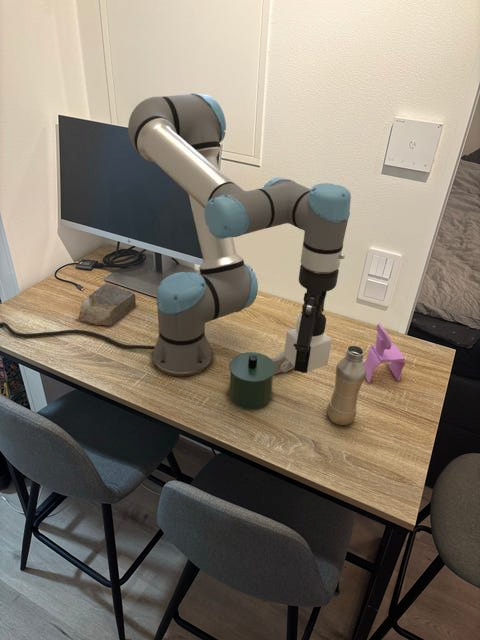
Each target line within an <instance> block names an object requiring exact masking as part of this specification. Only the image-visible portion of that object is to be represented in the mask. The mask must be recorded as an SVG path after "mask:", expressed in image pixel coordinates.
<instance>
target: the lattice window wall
mask: <svg viewBox="0 0 480 640" xmlns="http://www.w3.org/2000/svg"><path fill="white" fill-rule="evenodd" d="M269 358H270V359H271V360H272V361H273V362H274V364H275V373H274V375H276V374H279V373H280V374H281V373H287V372H289V371H291V370H294V366H293V365H292V364H291V363H290V362H289V361H288V360H287V359H286V358H285V357H284V350H283V351H282V352H281V353H279V354H278V355H275V356H272V357H269Z"/></svg>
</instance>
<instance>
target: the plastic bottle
mask: <svg viewBox="0 0 480 640" xmlns="http://www.w3.org/2000/svg"><path fill="white" fill-rule="evenodd" d="M364 355H365V350H364V349H363V348H362V347H361V346H359V345H354V344H352V345H348V346H347V347H346V350H345V354H344V357H343V358H341V359H340V360H339V361H338V362H337V364H336V365H335V366H336V367H335V381H334V387H333V392H332V394H331V397H330V399H329V401H328V404H327V406H326V415H327V417H328V418H329V420H330V421H331V422H332V423H333V424H336V425H338V426H339V425H340V426H347V425H349V424H352V422H353V421H354V419H355V418H356V416H357V403H358V397H359V393H360V390H361V387H362V385H363V383H364V382H365V379H366V377H365V376H366V367H365V365H364V363H365V362H363V361H364Z"/></svg>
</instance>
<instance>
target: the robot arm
mask: <svg viewBox="0 0 480 640" xmlns="http://www.w3.org/2000/svg"><path fill="white" fill-rule="evenodd" d="M226 130H227V122H226V118H225V114H224V111H223V109H222V107H221V105H220V104H219V101H217V100H216V99H215V98H213V97H212V96H211V95H209V94H204V93H203V94H201V93H200V94H199V93H190V94H176V95H163V96H160V95H159V96H151V97H148V98H146V99H144V100H142V101H141V102H139V103H137V105H136V106H135V108H133V110H132V112H131V114H130V117H129V119H128V124H127V131H128V137H129V141H130V143H131V145H132V147H133V148H134V150H135V151H136V152H137V153H138V154H139V155H140V156H141V157H142V158H143V159H145V160H146V161H148V162H152V163H155V164H156V165H157V166H158V167H160V168H161V170H163V171H164V173H166V174H167V175H168V176H169V177H170V178H171V179H172V180H173V181H174V182H175V183H176V184H178V185H179V186H180V188H182V190H184V191H185V192H186V193H187V194H188V197H189V202H190V206H191V211H192V216H193V221H194V224H195V228H196V229H195V230H196V234H197V238H198V243H199V247H200V250H201V256H202V262H201V264H200V265H199V267H198V269H199V273H200V274H199V273H198V272H194V271H187V272H186V271H179V272H175V273H172V274H169V275H168V276H166V277H165V278H164V279H162V281H161V282H160V283H159V285H158V287H157V292H156V307H157V321H158V323H157V324H158V336H157V339H156V342H155V345H143V344H124V343H120V342H118V341H116V340H114V339H112V338H111V337H109V336H106V335H103V334H100V333H98V332H97V333H96V332H94V331H90V330H85V329H84V330H83V329H67V330H66V329H65V330H57V331H44V332H43V331H42V332H35V333H21V332H17V331H15V330H13V329H12V327H11V326H9V324H8V323H6V322H4V321H3V322H0V327H4V328H5V329H6V330H7V331H8V332H9V334H12V335H13V336H16V337H19V338H36V337H46V336H47V337H49V336H59V335H66V334H81V335H88V336H91V337H96V338H99V339H101V340H104V341H107V342H108V343H110V344H113V345H115V346H117V347H119V348H122V349H127V350H128V349H129V350H135V349H136V350H151V351H152V350H153V353H152V361H153V365H154V366H155V368H156V369H157V370H158V371H160V372H161V373H163V374H165V375H168V376H171V377H177V378H178V377H180V378H181V377H182V378H183V377H191V376H195V375H198V374H200V373H202V372H204V371H205V370H206V369H207V368H208V367H209V366H210V364H211V362H212V349H211V345H210V344H209V341H208V338H207V336H206V332H205V331H206V330H205V329H206V323H209V322H212V321H215V320H217V319H220V318H223V317H226V316H229V315H231V314H234V313H239V312H241V311H243V310H245V309H247V308H249V307H251V306H252V305H253V304H254V302H255V301H256V299H257V297H258V292H259V284H258V277H257V276H256V272H255V271H253V269H254V268H252V266H251V265H249V264H247V263H245V260H244V258H243V257H242V256H240V255H239V254H238V253H237V252H236V251H237V250H236V245H235V242H234V238H238V237H241V236H244V235H248V234H251V233H255V232H258V231H261V230H265V229H270V228H274V227H278V226H281V225H285V224H289V225H292V226H293V227H295V228H298V229H299V230H302V231H304V235H303V241H302V248H301V255H300V266H299V273H298V283H299V285H300V286H301V287H303V288H304V289H306V292H304V295H303V304H302V306H301V307H302V309H301V312H302V316H301V322H300V327H299V333H298V338H297V344H294V347H295V349H296V350H297V352H296V359H295V367H294V368H293V371H296V372H299V373H301V372H303V374H307V373H308V372H307V370H308V363H309V357H310V351H311V346H310V344H311V340H312V335H313V330H314V326H315V321H316V318H317V317H319V315H320V313H322V314H323V312H324V311H325V308H324V307H325V301H326V298H327V297H326V296H327V293H328V292H330V291H332V290H334V289H335V287H336V286H337V283H338V277H339V271H340V270H339V268H340V266H341V265H340V264H341V260H344V259H345V258H346V257H345V254H344V253H342V252H343V248H344V241H345V235H346V231H347V227H348V222H349V218H350V215H351V211H350V210H351V201H352V195H351V192H350V190H349V189H347V187H345V186H343V185H339V184H334V183H328V182H324V183H317V184H314V185H313V186H311V188H309V187H306V186H304V185H302V184H300V183H297V182H295V181H294V180H292V179H288V178H284V177H280V176H279V177H278V176H277V177H273V178H271V179H269V181H268V182H266V183H264V185H263V187H261V188H256V189H251V190H244V189H243V188H241V186H239V185H238V184H236V182H234V181H233V180H232V179H231V178H229V176H227V175H226V174H225V173H223V172H222V170H220V169H219V164H218V159H217V157H218V155H219V153H220V152H221V150H222V148H221V143H222V141H223V140H224V139H225V137H226ZM316 311H317V313H315V312H316ZM323 315H324V316H325V317H326V315H325V314H323Z"/></svg>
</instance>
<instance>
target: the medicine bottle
mask: <svg viewBox="0 0 480 640" xmlns="http://www.w3.org/2000/svg"><path fill="white" fill-rule="evenodd" d="M315 313H317V311H316V312H315ZM324 315H325V314H323V313H320V315H319V317H317V318H316V321H315V326H314V330H313V335H312V340H311V344H310V346H311V351H310V357H309V363H308V370H307V373H308V372H311V371H314V370H316V369H320V368H322V367H325V366H328V364H329V359H330V353H331V348H332V343H333V339H332V337H331V336H329V335H328V334H327V333H325V330H326V326H327V325H326V324H327V318H326V315H325V316H324ZM301 316H302V311H301V312H299V313H298V314H297V317H296V325H295V327H294V328H291V329H288V330H287V331H286V334H285V342H284V343H285V344H284V350H283V351H284V357H285V358H286V359H287V360H288V361H289V362H290V363H291V364H292V365H293V366H294V367H295V359H296V352H297V350H296V349H295V347H294V344H297V338H298V333H299V327H300V322H301ZM289 362H288V363H289ZM300 374H302V375H303V374H304V373H303V372H300Z"/></svg>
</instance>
